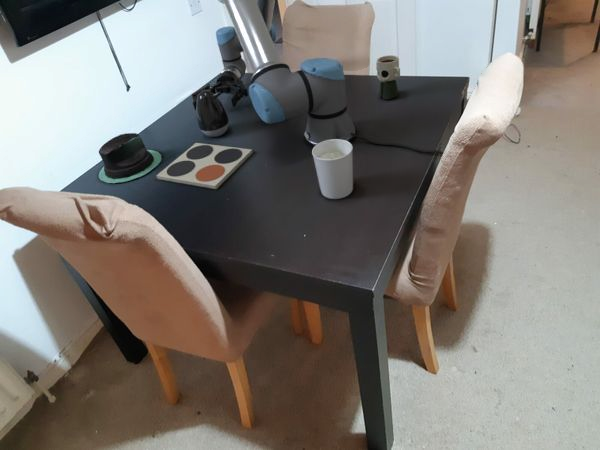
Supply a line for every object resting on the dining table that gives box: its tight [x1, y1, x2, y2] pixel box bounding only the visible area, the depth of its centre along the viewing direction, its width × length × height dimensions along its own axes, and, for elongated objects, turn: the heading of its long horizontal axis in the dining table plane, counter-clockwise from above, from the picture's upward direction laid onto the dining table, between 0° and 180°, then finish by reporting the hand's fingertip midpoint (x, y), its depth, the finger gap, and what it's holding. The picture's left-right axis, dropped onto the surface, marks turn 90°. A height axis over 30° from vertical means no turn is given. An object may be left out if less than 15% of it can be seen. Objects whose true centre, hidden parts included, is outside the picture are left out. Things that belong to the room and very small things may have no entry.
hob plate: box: [155, 142, 254, 190], centre depth 133 cm, size 22×20×1 cm
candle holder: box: [311, 139, 354, 200], centre depth 109 cm, size 10×10×12 cm
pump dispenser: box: [195, 90, 230, 138], centre depth 145 cm, size 10×10×15 cm
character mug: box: [375, 55, 401, 100], centre depth 147 cm, size 11×7×13 cm, turn 34°
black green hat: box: [98, 132, 162, 184], centre depth 138 cm, size 15×19×20 cm
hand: (213, 104), depth 148 cm, fingers open, 13 cm apart
